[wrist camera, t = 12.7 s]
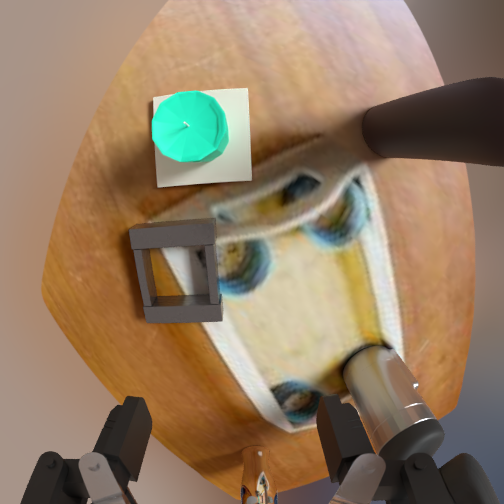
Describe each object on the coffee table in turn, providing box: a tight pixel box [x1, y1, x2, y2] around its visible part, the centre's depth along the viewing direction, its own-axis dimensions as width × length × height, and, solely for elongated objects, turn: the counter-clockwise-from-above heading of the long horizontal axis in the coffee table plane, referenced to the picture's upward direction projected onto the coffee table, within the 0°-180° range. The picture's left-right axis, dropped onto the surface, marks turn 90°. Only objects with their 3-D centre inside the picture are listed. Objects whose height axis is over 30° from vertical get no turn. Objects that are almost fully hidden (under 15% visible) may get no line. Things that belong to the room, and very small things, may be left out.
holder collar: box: [129, 218, 223, 323], centre depth 34 cm, size 10×12×3 cm
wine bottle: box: [362, 77, 504, 167], centre depth 17 cm, size 7×7×30 cm
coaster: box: [153, 88, 252, 188], centre depth 30 cm, size 11×11×1 cm
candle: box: [152, 91, 229, 162], centre depth 24 cm, size 6×6×12 cm
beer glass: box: [241, 446, 278, 504], centre depth 42 cm, size 7×7×15 cm
